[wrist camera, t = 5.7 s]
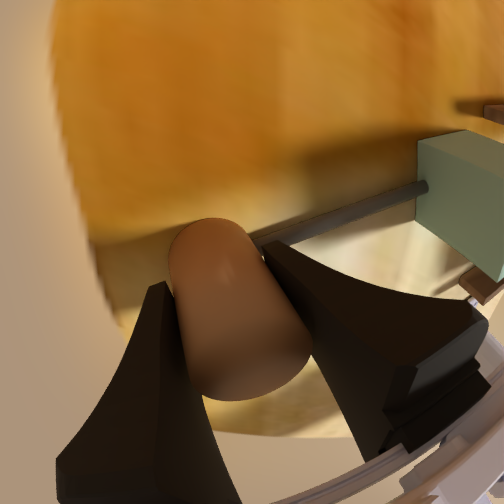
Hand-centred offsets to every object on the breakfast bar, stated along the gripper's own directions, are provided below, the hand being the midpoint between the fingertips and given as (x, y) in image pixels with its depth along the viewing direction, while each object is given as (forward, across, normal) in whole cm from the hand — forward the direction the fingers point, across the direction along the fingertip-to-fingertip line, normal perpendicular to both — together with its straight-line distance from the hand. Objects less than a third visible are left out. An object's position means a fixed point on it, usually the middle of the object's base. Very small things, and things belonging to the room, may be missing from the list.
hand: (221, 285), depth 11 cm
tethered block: (+2, -7, 0) cm, 7 cm away
